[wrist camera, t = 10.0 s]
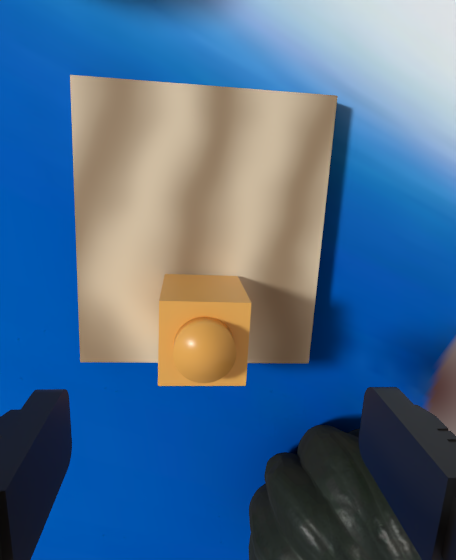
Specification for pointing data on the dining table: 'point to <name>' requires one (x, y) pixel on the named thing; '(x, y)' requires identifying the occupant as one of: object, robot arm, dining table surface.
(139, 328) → the board
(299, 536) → the squash
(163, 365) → the cube with dome
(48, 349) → the dining table surface
